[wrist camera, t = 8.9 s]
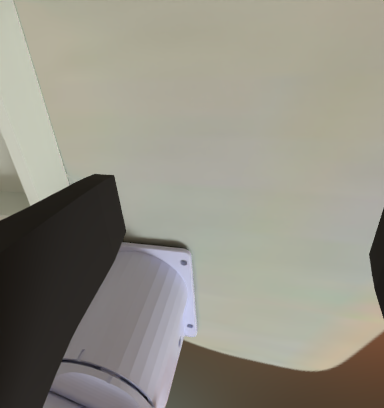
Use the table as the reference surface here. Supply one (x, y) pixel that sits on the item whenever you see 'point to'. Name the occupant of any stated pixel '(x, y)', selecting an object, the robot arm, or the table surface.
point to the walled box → (23, 125)
